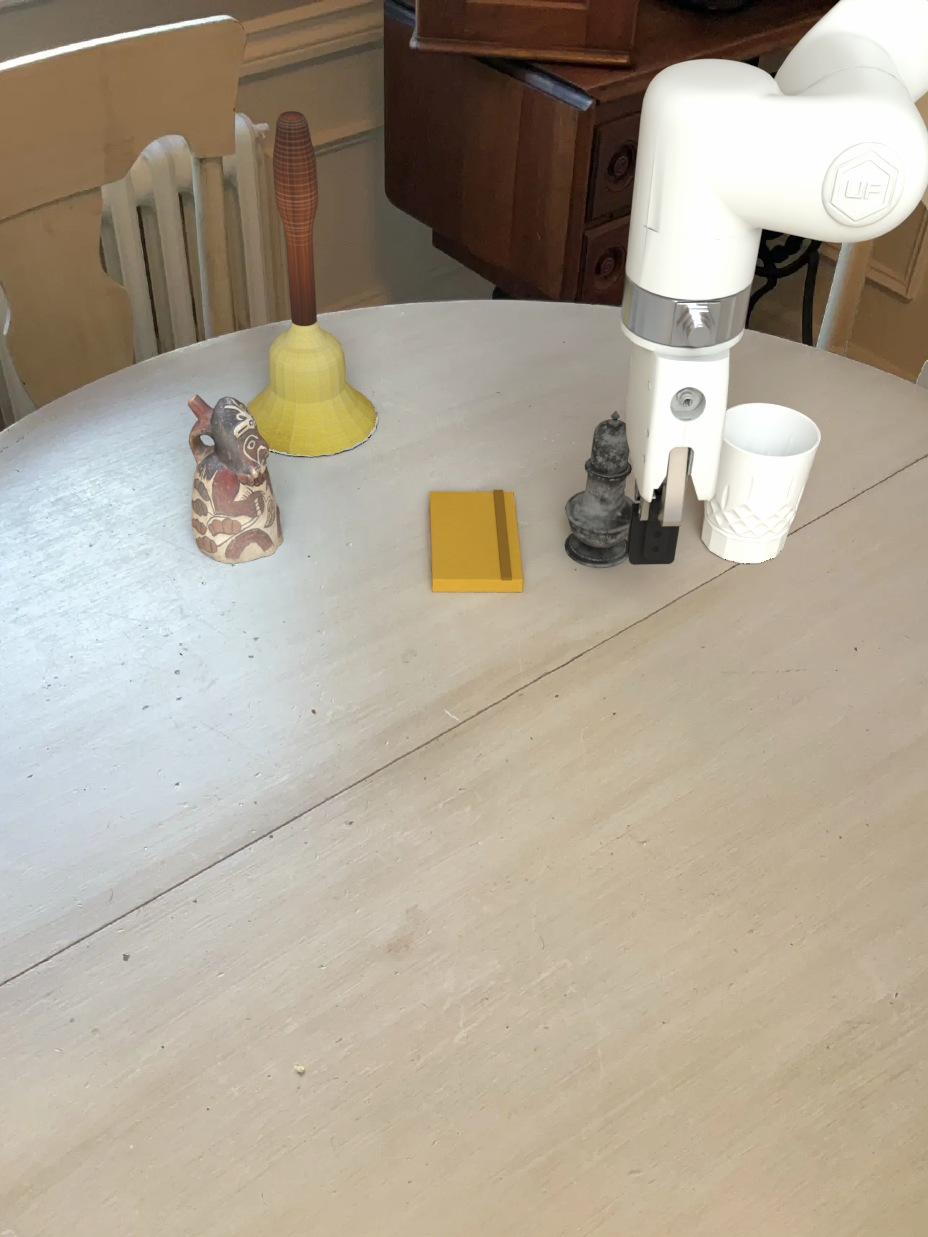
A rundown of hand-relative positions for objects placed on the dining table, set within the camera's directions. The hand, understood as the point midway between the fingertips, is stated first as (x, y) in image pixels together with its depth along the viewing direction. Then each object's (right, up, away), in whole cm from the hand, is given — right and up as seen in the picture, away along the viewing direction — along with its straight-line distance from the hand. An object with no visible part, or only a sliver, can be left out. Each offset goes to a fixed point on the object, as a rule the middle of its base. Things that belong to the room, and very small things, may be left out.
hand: (649, 557), depth 90 cm
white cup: (+10, +5, +14) cm, 17 cm away
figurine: (-31, +4, +12) cm, 34 cm away
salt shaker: (-2, +4, +13) cm, 13 cm away
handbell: (-27, +18, +24) cm, 40 cm away
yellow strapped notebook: (-12, +4, +12) cm, 18 cm away
